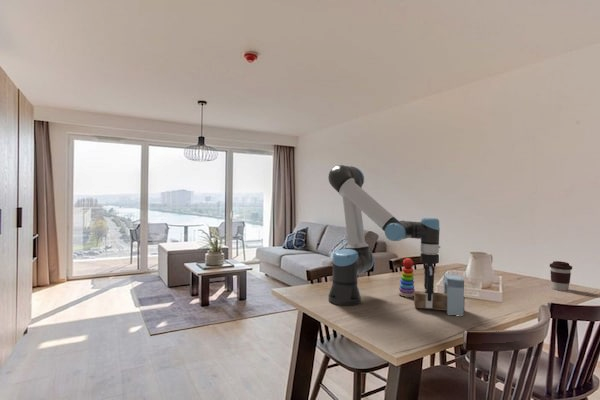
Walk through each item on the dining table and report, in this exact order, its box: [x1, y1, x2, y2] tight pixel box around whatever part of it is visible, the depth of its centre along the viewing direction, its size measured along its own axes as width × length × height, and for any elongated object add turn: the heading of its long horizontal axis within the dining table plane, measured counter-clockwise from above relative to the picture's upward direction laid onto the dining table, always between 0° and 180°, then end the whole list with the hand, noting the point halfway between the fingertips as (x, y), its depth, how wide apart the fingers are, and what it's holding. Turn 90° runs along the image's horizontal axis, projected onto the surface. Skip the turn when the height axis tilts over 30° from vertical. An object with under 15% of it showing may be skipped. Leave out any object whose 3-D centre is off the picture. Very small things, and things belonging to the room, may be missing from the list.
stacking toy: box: [398, 257, 416, 298], centre depth 171 cm, size 8×8×19 cm
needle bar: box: [413, 290, 466, 312], centre depth 150 cm, size 20×4×6 cm, turn 76°
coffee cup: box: [549, 260, 573, 292], centre depth 188 cm, size 10×10×15 cm
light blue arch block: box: [442, 273, 465, 317], centre depth 148 cm, size 6×12×15 cm, turn 166°
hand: (428, 305), depth 151 cm, fingers closed on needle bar, 4 cm apart
